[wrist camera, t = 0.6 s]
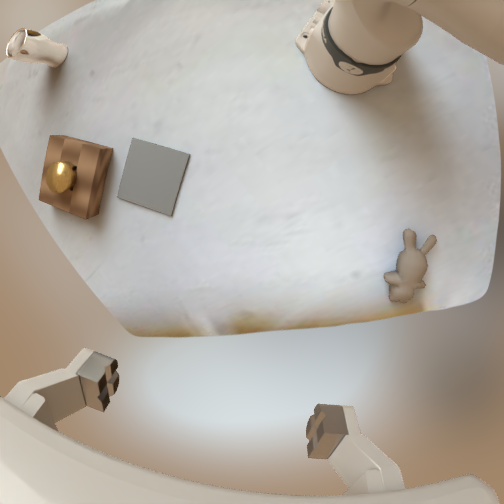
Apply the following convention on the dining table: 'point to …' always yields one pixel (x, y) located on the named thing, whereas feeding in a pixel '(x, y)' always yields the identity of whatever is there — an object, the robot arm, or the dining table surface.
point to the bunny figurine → (409, 268)
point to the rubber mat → (152, 176)
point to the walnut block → (88, 175)
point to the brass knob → (61, 176)
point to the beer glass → (35, 48)
